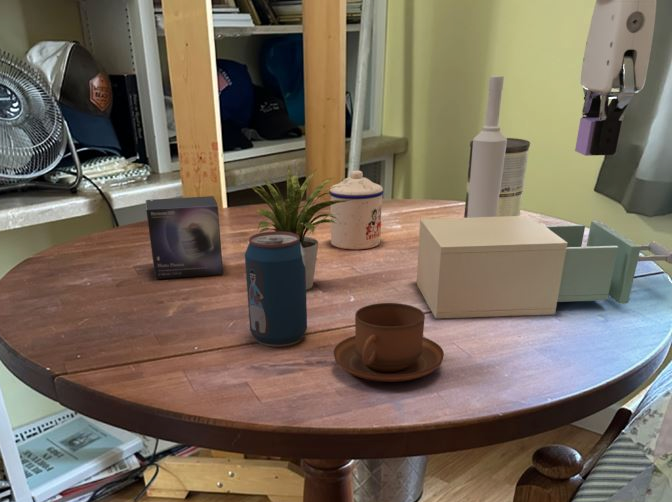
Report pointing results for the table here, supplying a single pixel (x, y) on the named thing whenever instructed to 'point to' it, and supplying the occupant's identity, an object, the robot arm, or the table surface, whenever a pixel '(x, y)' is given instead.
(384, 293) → the table surface
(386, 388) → the table surface
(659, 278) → the table surface
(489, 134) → the bottle
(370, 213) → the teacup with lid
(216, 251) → the small box
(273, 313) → the soda can
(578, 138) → the purple cube
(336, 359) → the cup and saucer
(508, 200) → the coffee can
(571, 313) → the table surface
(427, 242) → the beige box
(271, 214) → the house plant
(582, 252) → the drawer
